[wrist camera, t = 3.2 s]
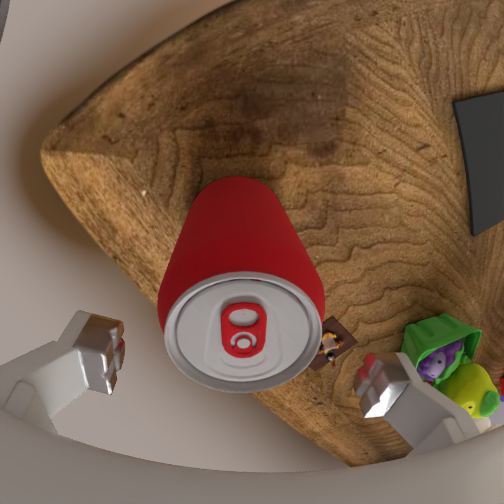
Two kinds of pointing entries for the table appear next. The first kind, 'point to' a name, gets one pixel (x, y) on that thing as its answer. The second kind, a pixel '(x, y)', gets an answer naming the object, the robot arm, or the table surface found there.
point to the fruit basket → (451, 362)
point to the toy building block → (502, 388)
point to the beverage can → (240, 292)
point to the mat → (483, 157)
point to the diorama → (331, 344)
